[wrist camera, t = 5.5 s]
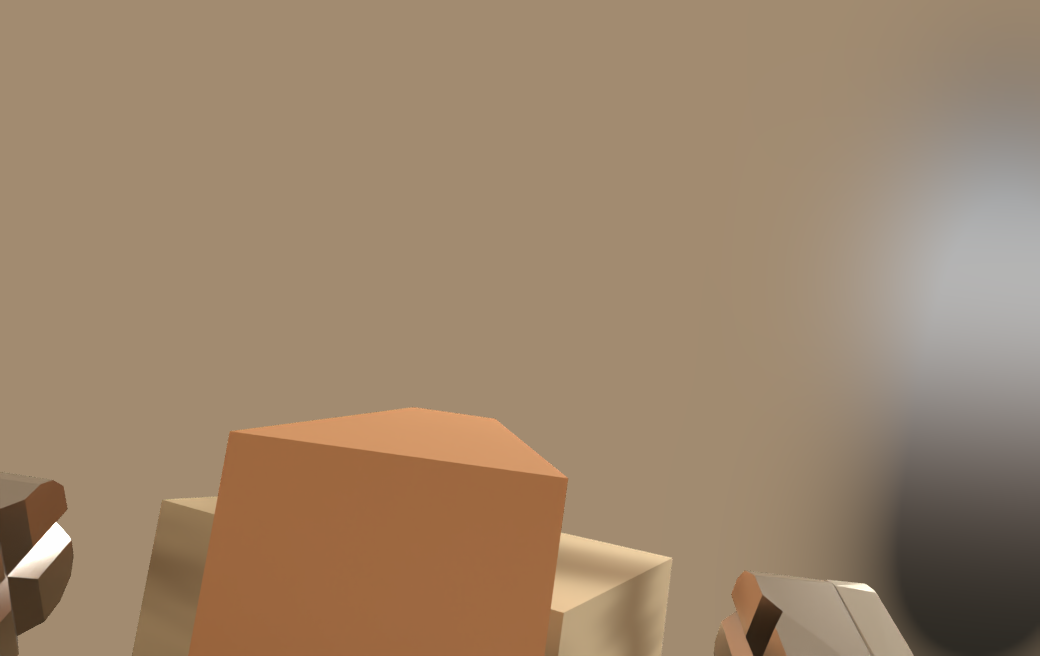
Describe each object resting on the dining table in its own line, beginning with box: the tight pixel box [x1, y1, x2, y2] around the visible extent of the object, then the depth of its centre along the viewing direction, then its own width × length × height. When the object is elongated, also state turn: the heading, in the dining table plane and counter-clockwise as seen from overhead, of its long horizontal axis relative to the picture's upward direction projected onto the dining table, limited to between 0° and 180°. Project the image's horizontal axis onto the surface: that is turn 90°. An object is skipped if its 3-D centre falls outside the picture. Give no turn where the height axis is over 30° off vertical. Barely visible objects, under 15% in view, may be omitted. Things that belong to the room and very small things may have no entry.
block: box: [188, 407, 568, 656], centre depth 16 cm, size 20×3×3 cm, turn 4°
